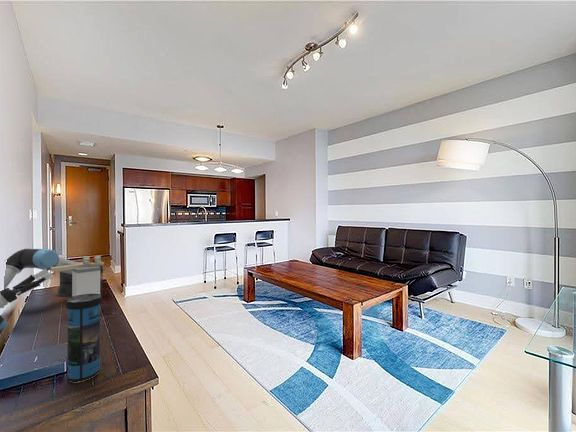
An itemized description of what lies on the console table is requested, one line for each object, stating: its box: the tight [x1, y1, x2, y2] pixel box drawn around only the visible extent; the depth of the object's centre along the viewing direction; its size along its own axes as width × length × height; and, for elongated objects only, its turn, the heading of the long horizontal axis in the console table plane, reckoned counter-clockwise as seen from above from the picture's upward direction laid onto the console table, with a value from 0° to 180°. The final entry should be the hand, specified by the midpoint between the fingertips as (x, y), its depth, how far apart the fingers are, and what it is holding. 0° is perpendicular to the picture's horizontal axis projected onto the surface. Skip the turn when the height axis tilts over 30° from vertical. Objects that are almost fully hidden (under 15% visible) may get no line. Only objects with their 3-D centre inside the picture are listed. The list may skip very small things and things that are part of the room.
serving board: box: [49, 255, 105, 273], centre depth 174 cm, size 4×26×6 cm, turn 138°
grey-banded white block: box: [71, 266, 101, 297], centre depth 177 cm, size 12×12×28 cm
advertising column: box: [65, 294, 103, 382], centre depth 109 cm, size 11×11×30 cm
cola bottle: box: [92, 256, 104, 297], centre depth 204 cm, size 8×8×30 cm
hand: (49, 272), depth 163 cm, fingers open, 13 cm apart
